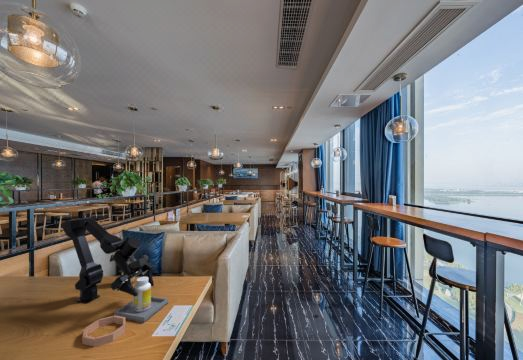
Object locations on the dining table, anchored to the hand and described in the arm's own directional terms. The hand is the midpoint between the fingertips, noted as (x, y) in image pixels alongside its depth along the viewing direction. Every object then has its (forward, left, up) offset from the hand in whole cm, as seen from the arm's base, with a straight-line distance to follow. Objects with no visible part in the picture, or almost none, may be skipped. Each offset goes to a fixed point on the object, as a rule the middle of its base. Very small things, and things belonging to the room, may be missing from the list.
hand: (145, 290), depth 97 cm
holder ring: (-3, -16, -8) cm, 18 cm away
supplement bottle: (-1, 0, -8) cm, 8 cm away
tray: (-1, 0, -8) cm, 9 cm away
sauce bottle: (-27, +19, -9) cm, 34 cm away
